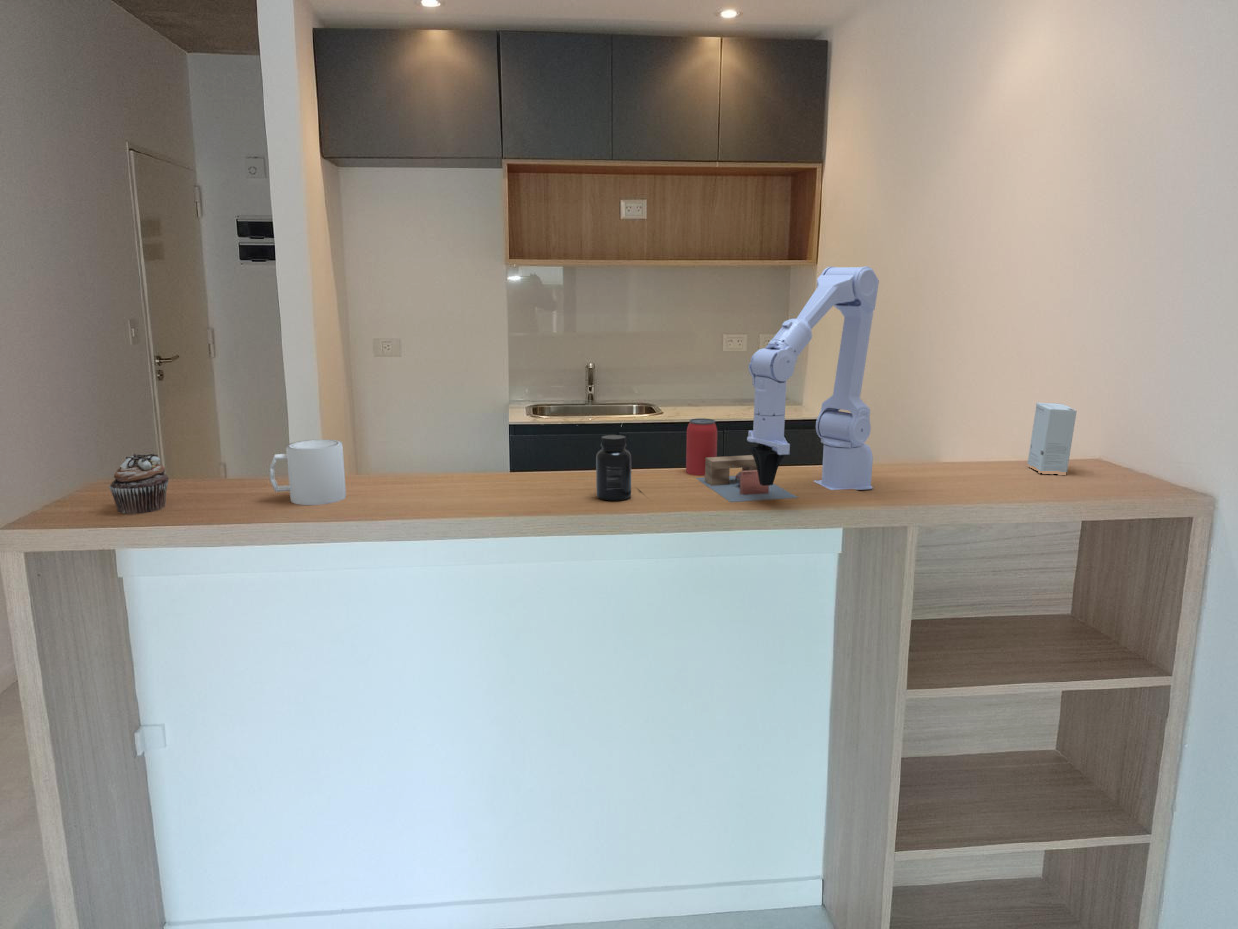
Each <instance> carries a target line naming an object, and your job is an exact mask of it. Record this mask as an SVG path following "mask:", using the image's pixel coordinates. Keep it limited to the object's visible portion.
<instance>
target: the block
mask: <svg viewBox="0 0 1238 929" xmlns="http://www.w3.org/2000/svg"><path fill="white" fill-rule="evenodd" d="M739 468H741V471H748V470H757V467H756V463H755V460H754V457H753V455H752V454H750V455H749V454H748V455H731V456H727V455H725V456H717V457H706V458H705V476H704V478H705V481H706V482H707V483H708V484H710V485H711V486H713V485H729V476H730V471H731V470H730V469H739Z"/></svg>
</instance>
